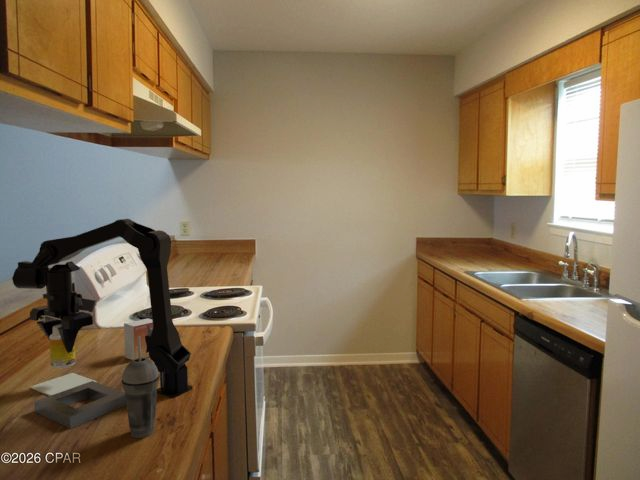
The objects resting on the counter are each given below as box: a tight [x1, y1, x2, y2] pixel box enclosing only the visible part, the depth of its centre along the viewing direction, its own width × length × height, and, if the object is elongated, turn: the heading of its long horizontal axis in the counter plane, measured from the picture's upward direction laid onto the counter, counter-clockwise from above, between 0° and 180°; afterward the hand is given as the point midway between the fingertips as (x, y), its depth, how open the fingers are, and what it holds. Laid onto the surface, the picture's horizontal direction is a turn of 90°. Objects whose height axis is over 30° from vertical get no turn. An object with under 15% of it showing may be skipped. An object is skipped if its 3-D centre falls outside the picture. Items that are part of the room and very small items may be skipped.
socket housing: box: [33, 380, 127, 429], centre depth 111 cm, size 14×14×2 cm
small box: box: [123, 317, 153, 361], centre depth 145 cm, size 8×6×10 cm
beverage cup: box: [120, 336, 160, 439], centre depth 99 cm, size 7×7×20 cm
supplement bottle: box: [48, 324, 76, 369], centre depth 122 cm, size 6×6×10 cm
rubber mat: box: [30, 372, 98, 397], centre depth 123 cm, size 11×11×1 cm
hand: (62, 349), depth 122 cm, fingers closed on supplement bottle, 6 cm apart
